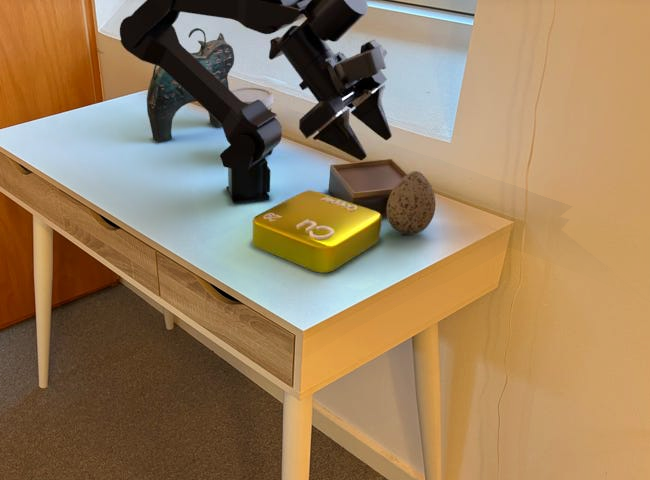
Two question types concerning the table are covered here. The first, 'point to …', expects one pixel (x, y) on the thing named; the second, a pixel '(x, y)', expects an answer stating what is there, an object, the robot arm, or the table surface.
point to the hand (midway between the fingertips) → (377, 148)
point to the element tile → (316, 230)
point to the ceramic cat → (171, 96)
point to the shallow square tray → (365, 182)
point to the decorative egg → (411, 204)
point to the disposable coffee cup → (254, 95)
